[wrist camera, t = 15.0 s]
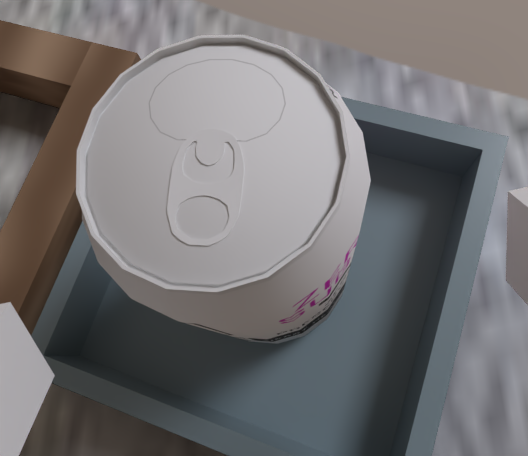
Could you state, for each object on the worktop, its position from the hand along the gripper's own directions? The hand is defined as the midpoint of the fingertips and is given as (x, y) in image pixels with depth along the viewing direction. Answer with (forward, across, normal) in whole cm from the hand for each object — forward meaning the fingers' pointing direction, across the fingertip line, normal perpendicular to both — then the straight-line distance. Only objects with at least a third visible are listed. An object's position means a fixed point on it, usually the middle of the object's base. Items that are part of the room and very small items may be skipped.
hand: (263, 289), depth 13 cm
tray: (+12, 0, -8) cm, 15 cm away
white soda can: (+12, 0, -7) cm, 14 cm away
